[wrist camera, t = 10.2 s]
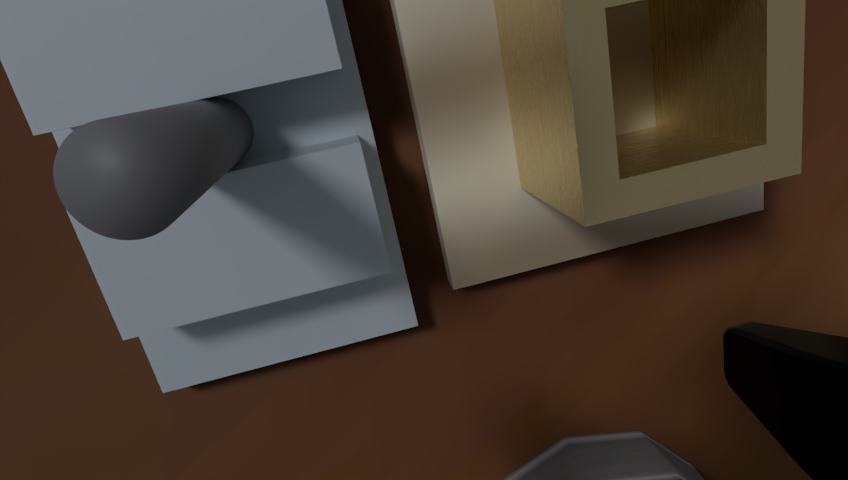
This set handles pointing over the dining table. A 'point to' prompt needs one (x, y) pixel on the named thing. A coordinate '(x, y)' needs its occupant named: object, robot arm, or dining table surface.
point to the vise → (215, 174)
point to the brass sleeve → (673, 96)
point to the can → (607, 460)
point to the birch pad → (495, 150)
